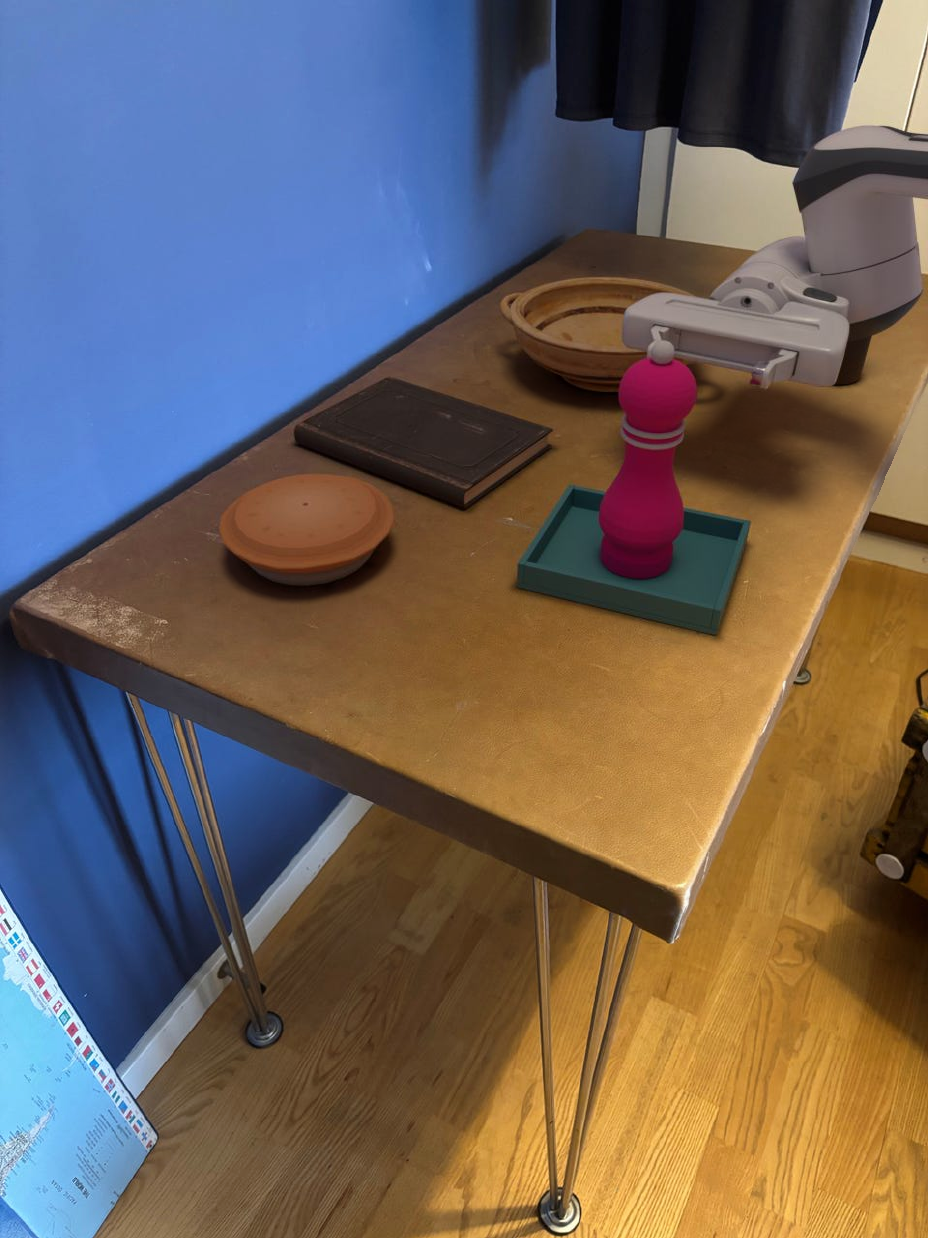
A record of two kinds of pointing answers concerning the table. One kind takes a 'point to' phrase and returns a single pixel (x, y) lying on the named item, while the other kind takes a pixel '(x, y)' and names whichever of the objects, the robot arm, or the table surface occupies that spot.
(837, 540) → the table surface
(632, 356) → the ceramic bowl
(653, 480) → the pepper mill
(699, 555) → the tray
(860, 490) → the table surface
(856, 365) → the bottle
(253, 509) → the pie
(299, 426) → the hardcover book
